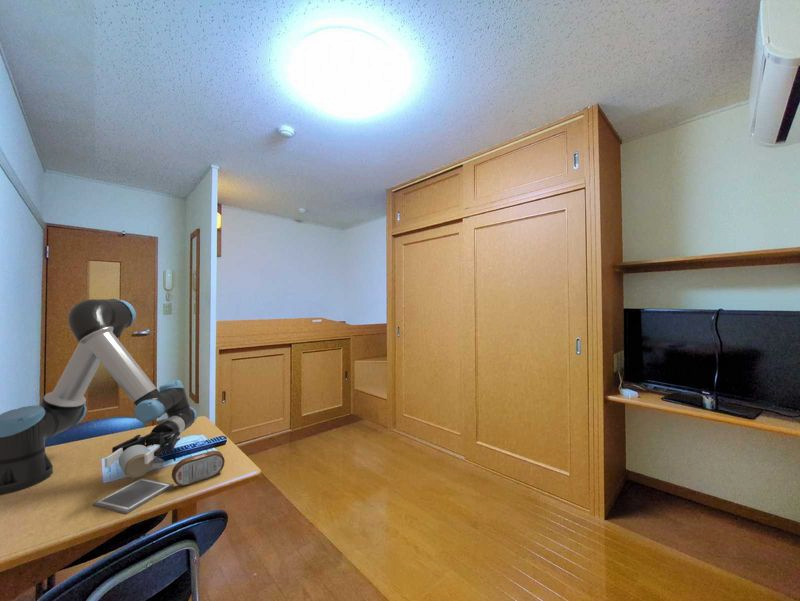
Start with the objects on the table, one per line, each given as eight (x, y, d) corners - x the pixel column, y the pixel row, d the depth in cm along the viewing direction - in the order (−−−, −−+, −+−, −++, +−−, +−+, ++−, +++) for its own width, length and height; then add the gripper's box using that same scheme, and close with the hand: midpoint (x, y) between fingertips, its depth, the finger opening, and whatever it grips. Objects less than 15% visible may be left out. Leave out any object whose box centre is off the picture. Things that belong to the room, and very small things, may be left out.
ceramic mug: (123, 483, 94) (124, 457, 94) (118, 473, 100) (118, 449, 100) (167, 469, 102) (167, 445, 102) (160, 460, 108) (160, 437, 108)
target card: (92, 505, 95) (92, 502, 95) (141, 479, 108) (141, 477, 108) (126, 514, 91) (126, 511, 91) (173, 486, 105) (173, 483, 105)
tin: (223, 470, 114) (223, 446, 114) (225, 473, 112) (225, 449, 112) (171, 487, 104) (171, 461, 104) (173, 491, 102) (172, 465, 102)
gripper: (201, 438, 119) (168, 470, 97) (133, 443, 116) (83, 477, 94) (201, 418, 119) (167, 445, 97) (133, 422, 116) (82, 452, 94)
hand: (126, 461), depth 95 cm, fingers closed on ceramic mug, 10 cm apart
